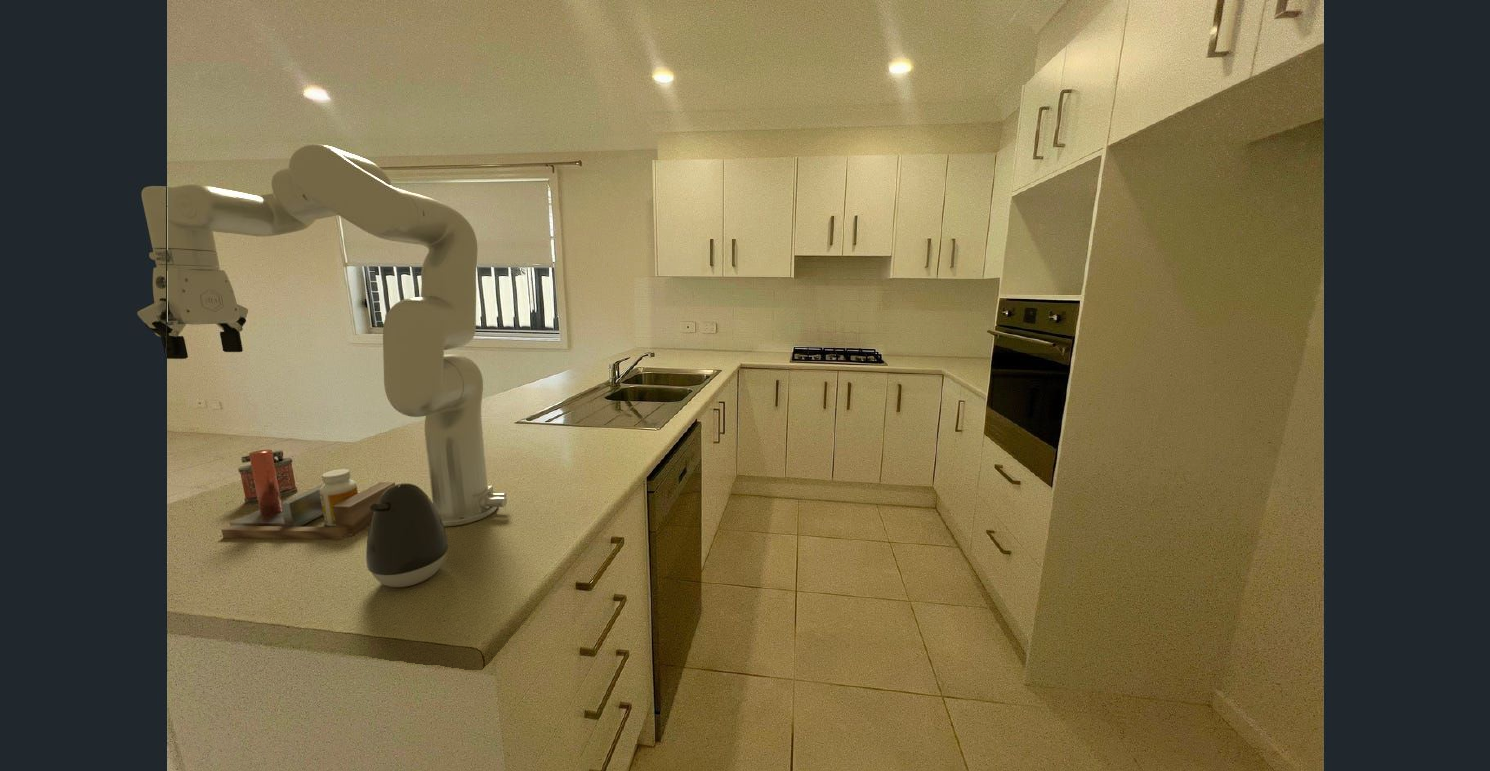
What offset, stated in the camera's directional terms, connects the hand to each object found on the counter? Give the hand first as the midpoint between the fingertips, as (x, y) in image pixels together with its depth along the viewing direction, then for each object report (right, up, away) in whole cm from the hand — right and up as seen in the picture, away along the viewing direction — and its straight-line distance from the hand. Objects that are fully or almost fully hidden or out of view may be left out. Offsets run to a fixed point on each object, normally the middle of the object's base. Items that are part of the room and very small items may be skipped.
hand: (206, 355), depth 89 cm
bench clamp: (+20, -32, +2) cm, 38 cm away
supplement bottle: (+24, -32, +2) cm, 40 cm away
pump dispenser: (+49, -36, -15) cm, 63 cm away
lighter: (0, -30, +12) cm, 32 cm away
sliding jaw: (+13, -31, +2) cm, 34 cm away
